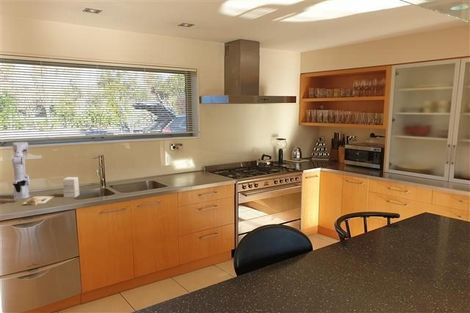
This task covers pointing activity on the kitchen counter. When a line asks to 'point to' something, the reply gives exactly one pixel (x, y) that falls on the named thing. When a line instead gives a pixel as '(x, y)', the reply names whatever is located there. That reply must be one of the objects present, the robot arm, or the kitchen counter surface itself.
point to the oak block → (32, 201)
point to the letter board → (43, 199)
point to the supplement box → (71, 187)
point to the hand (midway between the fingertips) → (20, 191)
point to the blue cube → (21, 190)
